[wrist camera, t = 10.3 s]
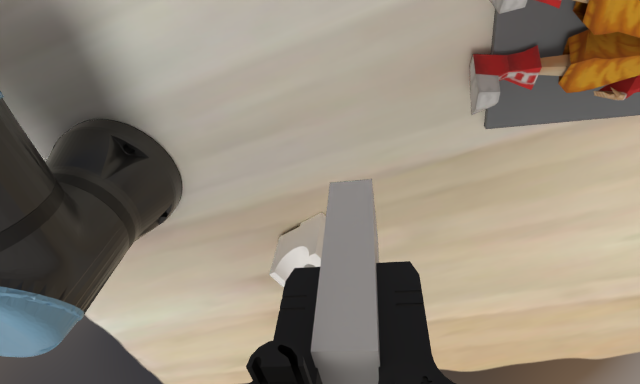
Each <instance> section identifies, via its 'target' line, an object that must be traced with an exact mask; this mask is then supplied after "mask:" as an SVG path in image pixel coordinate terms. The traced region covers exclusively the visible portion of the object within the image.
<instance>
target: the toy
mask: <svg viewBox="0 0 640 384" xmlns="http://www.w3.org/2000/svg"><path fill="white" fill-rule="evenodd" d="M536 1H539V2H543V3H546V4H549V5H551V6H554V7H556V8H560V5H561V1H562V0H536ZM573 1H576V3H575V6H574V9H573V12H574V13H575V14H576V15H577V17H578V18H579V19H580V20H581V21H582V22H583V23H584V24H585V26H586V27H587V28H588V30H586V31H583V32H581V33H579V34H576V35H574V36H572V37H569V38H568V40H567V43H566V46H565V48H564V51H563V54H562V55H560V56H552V57H544V58H540V54H539V49H538V45H537V46H535V47H533V48H530V49H528V50H526V51H524V52H520V53H515V54H510V55H486V54H473V56H472V60H471V63H470V98H471V115H472V114H475V113H477V112H480V111H482V110H485V109H487V108H490V107H492V106H494V105H496V104H497V103H498V101H499V96H500V84H499V81H501V80H507V81H509V82H511V83H514V84H516V85H519V86H521V87H524V88H527V89H530V90H532V88H533V86H534V84H535V81H536V79H537V77H538V75H550V76H559V82H558V84H559V85H560V86H561V87H562V89H563V90H564V91H565V92H566V93H573V92H581V91H586V90H590V89H594V88H598V87H601V86H604V85H606V86H604V87H603V88H602V89H600V90H599V91H594V96H598V97H603V98H608V99H613V100H624V99H626V98H628V97H630V96H631V95H632V94H634V93H637V92H640V0H573ZM490 2H491V3H492V4H493V6H494V7H495V9H496V10H497V12H498V13H499V14H501V13H505V12H508V11H512V10H516V9H520V8H524V7H525V6H526V3H527V0H490ZM608 84H609V85H608Z"/></svg>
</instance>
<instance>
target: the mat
mask: <svg viewBox="0 0 640 384" xmlns="http://www.w3.org/2000/svg"><path fill="white" fill-rule="evenodd" d="M575 3H576V1H573V0H562V1H561V5H560V8H556V7H554V6H551V5H549V4H546V3H543V2H539V1H536V0H527V3H526V6H525V7H524V8H520V9H516V10H512V11H508V12H505V13H501V14H499V13H498V12H497V10H496V9H495V15H494V26H493V36H492V47H491V55H510V54H515V53H520V52H524V51H526V50H528V49H530V48H533V47H535V46H537V45H538V49H539V54H540V58H544V57H552V56H560V55H562V54H563V51H564V48H565V46H566V43H567V40H568V38H569V37H572V36H574V35H576V34H579V33H581V32H583V31H586V30H588V28H587V27H586V26H585V24H584V23H583V22H582V21H581V20H580V19H579V18H578V17H577V15H576V14H575V13H574V12H573V9H574V6H575ZM558 82H559V76H550V75H538V77H537V79H536V81H535V84H534V86H533V88H532V90H530V89H527V88H524V87H521V86H519V85H516V84H514V83H511V82H509V81H507V80H501V81H499V84H500V96H499V101H498V103H497V104H496V105H494V106H492V107H490V108H487V109H486V111H485V122H484V126H485V128H486V129H492V128H503V127H514V126H525V125H536V124H547V123H558V122H569V121H580V120H591V119H602V118H613V117H624V116H635V115H640V92H637V93H634V94H632V95H631V96H630V97H628V98H626V99H624V100H613V99H608V98H603V97H598V96H594V91H599V90H600V89H602V88H603V87H604V86H606V85H604V86H601V87H598V88H594V89H590V90H586V91H581V92H573V93H566V92H565V91H564V90H563V89H562V87H561V86H560V85H559V84H558ZM608 85H609V84H608Z"/></svg>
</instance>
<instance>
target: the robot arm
mask: <svg viewBox="0 0 640 384" xmlns="http://www.w3.org/2000/svg"><path fill="white" fill-rule="evenodd" d="M3 97H4V96H3V94H2V93H1V91H0V356H7V357H31V356H36V355H41V354H44V353H46V352H48V351H50V350H52V349H53V348H55V347H56V346H57V345H58V344H60V342H61V341H62V340H63V339H64V337H65V336H66V335H67V334H68V333H69V331H70V330H71V329H72V328H73V326H74V325H75V324H76V323H77V321H80V320H81V319H82V317H83V316H84V314H85V312H86V311H87V309H88V308H89V306H90V305H91V303H92V302H93V301H94V299H95V298H96V296H97V295H98V293H99V292H100V290H101V289H102V287H103V286H104V284H105V283H106V281H107V280H108V279H109V277H110V276H111V274H112V273H113V271H114V270H115V268H116V267H117V265H118V264H119V262H120V261H121V259H122V258H123V257H124V255H125V254H126V252H127V251H128V249H129V248H130V246H131V245H132V244H133V242H134V241H136V240H137V239H139V238H140V237H142V236H143V235H145V234H146V233H148V232H149V231H151V230H152V229H154V228H155V227H157V226H158V225H160V224H161V223H163V222H164V221H165V220H166V219H167V218H168V217H169V216H170V215H171V213H172V212H173V210H174V209H175V207H176V206H177V204H178V203H179V201H180V198H181V193H182V183H181V178H180V175H179V172H178V170H177V168H176V166H175V164H174V162H173V161H172V159H171V158H170V156H169V155H168V154H167V153H166V151H165V150H164V149H163V148H162V147H161V146H160V145H159V144H158V143H157V142H155V141H154V140H153V139H152V138H150V137H149V136H147V135H146V134H144V133H143V132H141V131H139V130H137V129H135V128H133V127H131V126H129V125H126V124H123V123H120V122H116V121H112V120H103V119H96V120H88V121H85V122H82V123H79V124H77V125H76V126H74V127H73V128H72V129H70V130H69V131H68V132H66V133H65V134H64V135H62V136H61V137H60V138H59V139H58V141H57V142H56V143H55V145H54V147H53V150H52V152H51V154H50V156H49V157H48V159H47V161H46V163H45V161H44V160H43V159H42V157H41V156H40V154H39V153H38V151H37V150H36V148H35V147H34V145H33V144H32V142H31V141H30V139H29V138H28V136H27V135H26V133H25V132H24V130H23V129H22V127H21V126H20V124H19V123H18V121H17V120H16V118H15V117H14V115H13V114H12V112H11V111H10V109H9V108H8V106H7V105H6V103H5V101H4V100H3ZM282 297H283V299H282V300H281V305H280V311H279V315H278V320H277V325H276V330H275V335H274V340H273V341H270V342H267V343H266V344H264V345H262V346H260V347H259V348H258V349H257V350H256V351H255V352H254V353H253V354H252V355H251V357H250V359H249V361H248V364H247V366H246V368H247V370H248V372H249V373H250V375H251V377H252V379H253V381H252V382H251V383H249V384H455V383H453V382H452V381H450V380H449V379H448V378H446V377H445V376H444V375H443V374H442V373H441V372H440V371H439V369H438V368H437V366H436V364H435V363H434V360H433V357H432V353H431V347H430V340H429V334H428V328H427V321H426V315H425V309H424V302H423V296H422V289H421V283H420V277H419V274H418V272H417V271H416V269H415V268H414V267H413V265H412V264H411V262H410V261H408V262H387V263H379V253H378V234H377V224H376V215H375V205H374V196H373V186H372V179H367V180H355V181H344V182H332V183H330V187H329V196H328V205H327V213H326V222H325V231H324V239H323V248H322V257H321V265H320V267H305V268H294V269H293V271H292V272H291V274H290V275H289V277H288V278H287V280H286V281H285V286H284V291H283V296H282Z"/></svg>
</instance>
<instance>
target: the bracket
mask: <svg viewBox="0 0 640 384" xmlns="http://www.w3.org/2000/svg"><path fill="white" fill-rule="evenodd" d="M325 222H326V216H325V215H324V214H323V213H322V212H321V213H319V214H317V215H315V216H313V217H311V218H309V219H307V220H305V221H303V222H301V223H300V227H298V228H296V229H294V230H292V231H290V232H288V233H286V234H284V235H282V236H280V237H279V240H278V244H277V247H276V251H275V255H274V258H273V262H272V265H271V269H270V273H269V275H270V276H271V277H272V278H273V279H274V280H276V281H277V282H278V283H279V284H280V285H281V286H282V287H284V286H285V281H286V280H287V278H288V277H289V275H290V274H291V272H292V271H293V269H294V268H305V267H320V265H321V257H322V248H323V239H324V231H325Z"/></svg>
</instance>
